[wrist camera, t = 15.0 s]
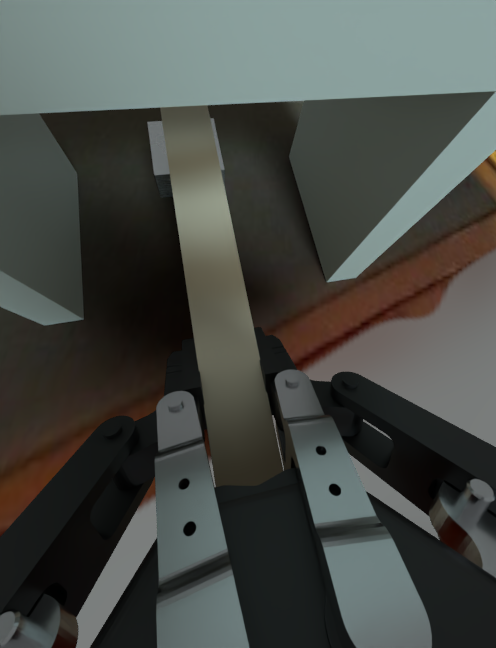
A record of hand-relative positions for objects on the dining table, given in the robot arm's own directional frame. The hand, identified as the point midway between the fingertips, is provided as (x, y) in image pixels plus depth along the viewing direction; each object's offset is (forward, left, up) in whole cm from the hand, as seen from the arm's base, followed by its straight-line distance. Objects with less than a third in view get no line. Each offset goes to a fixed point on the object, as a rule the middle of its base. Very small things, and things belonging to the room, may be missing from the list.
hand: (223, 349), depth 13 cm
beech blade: (+2, +2, -5) cm, 5 cm away
